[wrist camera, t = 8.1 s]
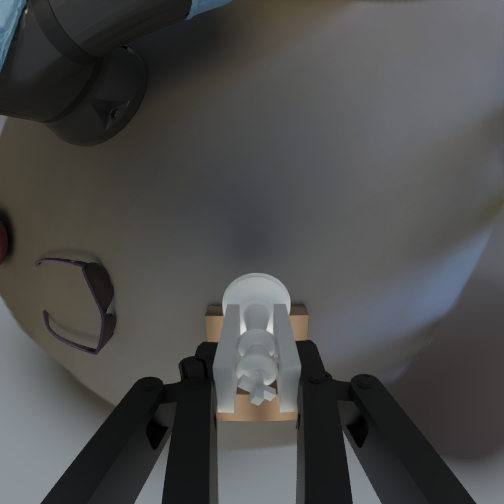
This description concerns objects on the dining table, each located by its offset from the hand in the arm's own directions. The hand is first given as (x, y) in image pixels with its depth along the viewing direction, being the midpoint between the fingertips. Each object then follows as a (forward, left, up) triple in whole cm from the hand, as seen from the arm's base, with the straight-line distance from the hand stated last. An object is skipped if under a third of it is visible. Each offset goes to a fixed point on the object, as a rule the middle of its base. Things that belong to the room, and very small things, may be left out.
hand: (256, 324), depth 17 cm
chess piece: (0, 0, -3) cm, 3 cm away
